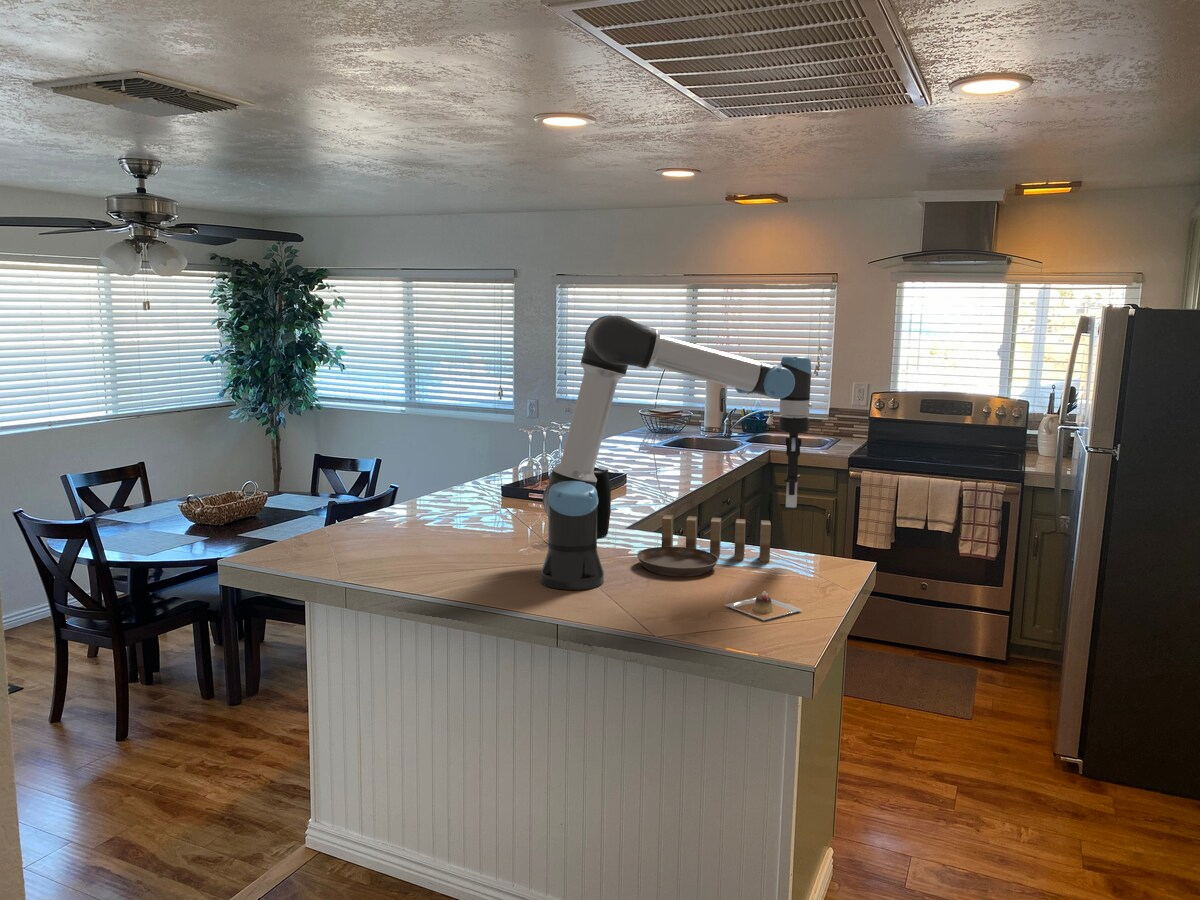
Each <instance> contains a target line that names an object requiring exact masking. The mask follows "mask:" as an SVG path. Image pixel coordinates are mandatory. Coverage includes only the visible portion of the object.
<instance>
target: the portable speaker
mask: <svg viewBox="0 0 1200 900" xmlns="http://www.w3.org/2000/svg"><path fill="white" fill-rule="evenodd" d="M593 473H594V475H595V477H596V479H597V483H596V486H595V488H596V490H597V496H598V506H597V537H599V538H602V537H603V536H604V535H605V534H607V535H608V533H609V528H610V527H609V526H610V520H611V513H612V512H611V511H612V510H611V508H612V506H611V505H612V501H611V500H612V499H611V498H612V488H611V482H610V472H609V469H604V468H600V467H594V471H593Z"/></svg>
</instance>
